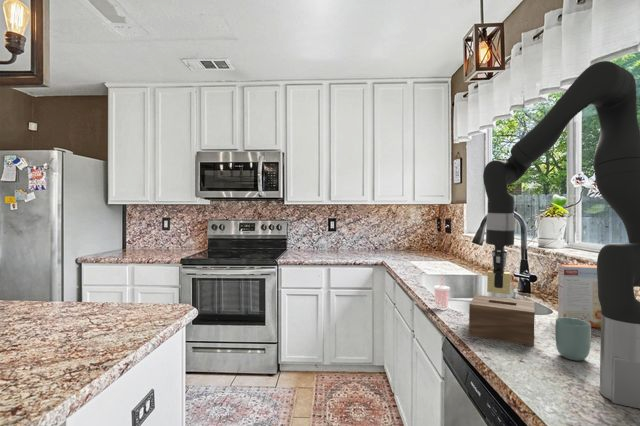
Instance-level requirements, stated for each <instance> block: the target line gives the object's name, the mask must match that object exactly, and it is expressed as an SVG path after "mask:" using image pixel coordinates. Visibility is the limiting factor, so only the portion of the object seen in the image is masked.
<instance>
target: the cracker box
mask: <svg viewBox="0 0 640 426" xmlns="http://www.w3.org/2000/svg"><path fill="white" fill-rule="evenodd" d="M557 267H558V268H557V272H558V273H557V274H558V275H557V277H558V278H557V286H558V287H557V291H558V292H557V297H558V298H557V299H558V301H557V318H560V317H569V318H576V319H580V320H584V321H587V322H589V323H590V324H591V328H595V329H596V328H599V329H601V305H600V302H599V298H598V280H597V265H588V264H587V265H585V264H558V265H557Z"/></svg>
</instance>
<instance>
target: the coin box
mask: <svg viewBox="0 0 640 426" xmlns="http://www.w3.org/2000/svg"><path fill="white" fill-rule="evenodd" d="M468 311H469V312H468V313H469V315H468V335H469V336H470V337H471V336H473V337H479V338H483V339H484V338H485V339H490V340H496V341H500V342H501V341H502V342H507V343H514V344H519V345H526V346H533V347H534V346H535V311H536V310H535V301H533V300H524V299H517V298H506V297H501V296H500V297H499V296H490V295H484V294H483V295H482V294H474V297H473V298H472V299H471V301H470V302H469V310H468Z"/></svg>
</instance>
